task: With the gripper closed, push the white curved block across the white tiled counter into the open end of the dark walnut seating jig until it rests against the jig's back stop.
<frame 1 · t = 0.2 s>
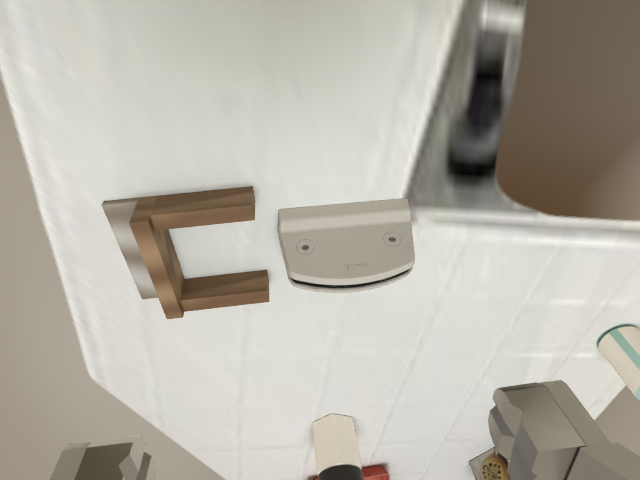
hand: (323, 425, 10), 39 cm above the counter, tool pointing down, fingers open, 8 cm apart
jig: (217, 242, 55), on the counter
jar: (332, 424, 84), on the counter
can: (615, 336, 76), on the counter
coffee box: (491, 454, 100), on the counter
white curved block: (343, 227, 56), on the counter
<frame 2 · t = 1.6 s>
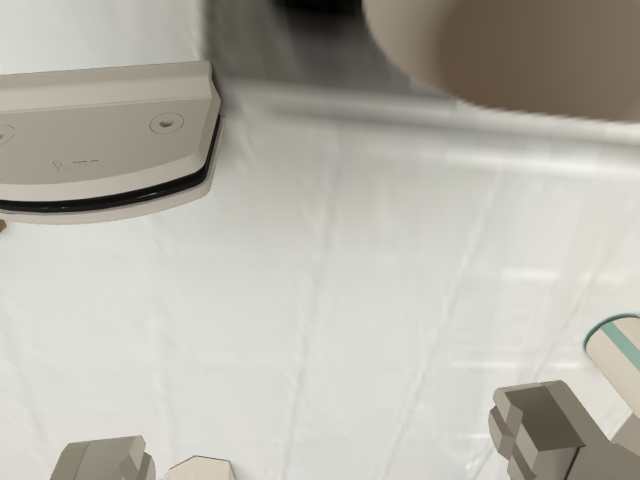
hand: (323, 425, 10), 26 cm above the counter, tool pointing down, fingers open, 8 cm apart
jar: (203, 472, 57), on the counter
can: (611, 334, 51), on the counter
white curved block: (110, 123, 32), on the counter
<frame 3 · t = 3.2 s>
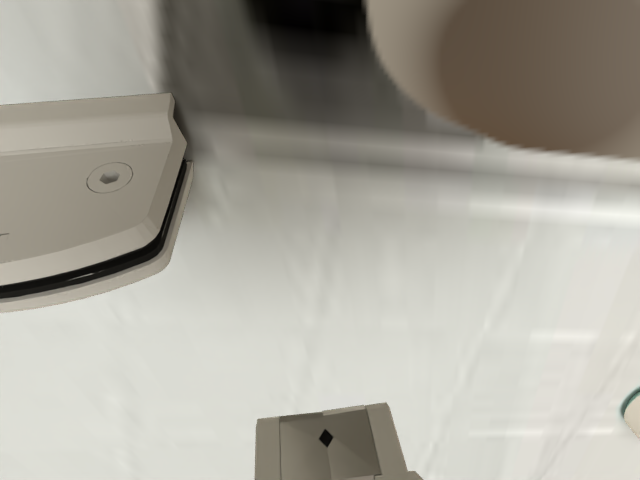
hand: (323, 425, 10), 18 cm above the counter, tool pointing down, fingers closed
white curved block: (48, 169, 25), on the counter
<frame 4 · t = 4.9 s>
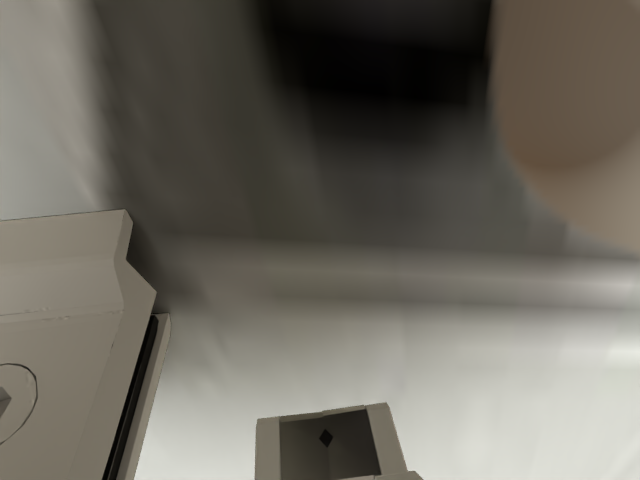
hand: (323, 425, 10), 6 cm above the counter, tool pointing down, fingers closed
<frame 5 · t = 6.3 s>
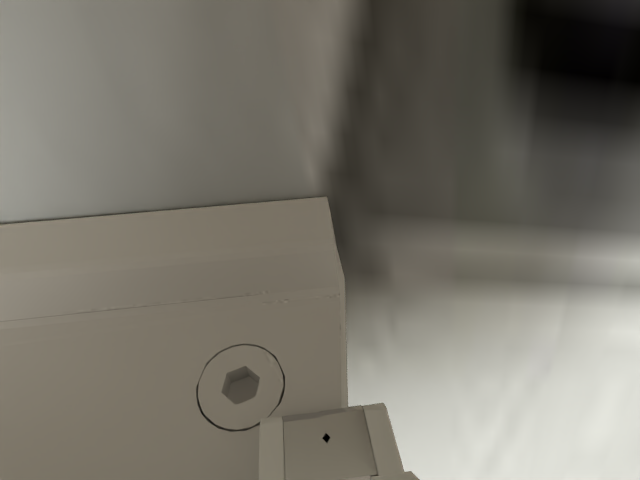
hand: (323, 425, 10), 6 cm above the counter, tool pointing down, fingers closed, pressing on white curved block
white curved block: (99, 313, 15), on the counter, touching gripper
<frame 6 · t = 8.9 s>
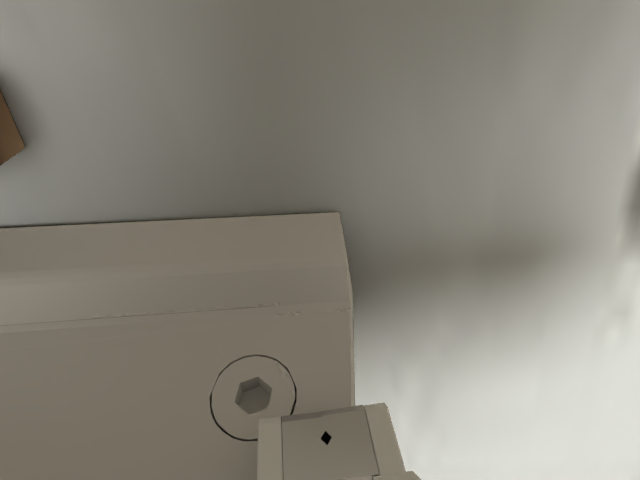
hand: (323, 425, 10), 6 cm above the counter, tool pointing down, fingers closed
white curved block: (107, 317, 15), on the counter, touching gripper
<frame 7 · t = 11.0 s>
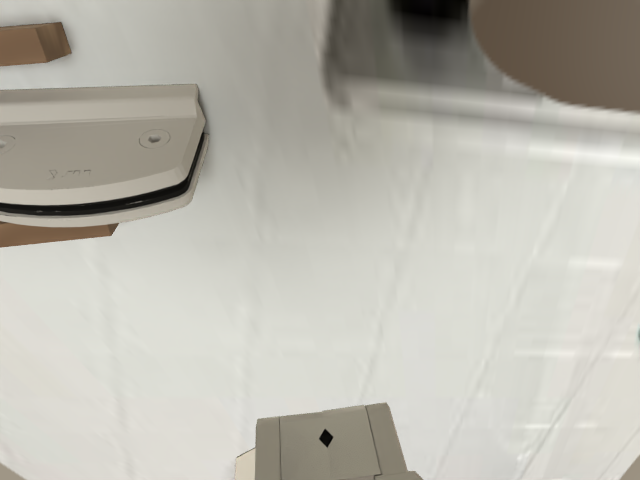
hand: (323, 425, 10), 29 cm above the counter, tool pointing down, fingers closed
jig: (24, 135, 34), on the counter
jar: (267, 461, 59), on the counter
white curved block: (104, 136, 35), on the counter
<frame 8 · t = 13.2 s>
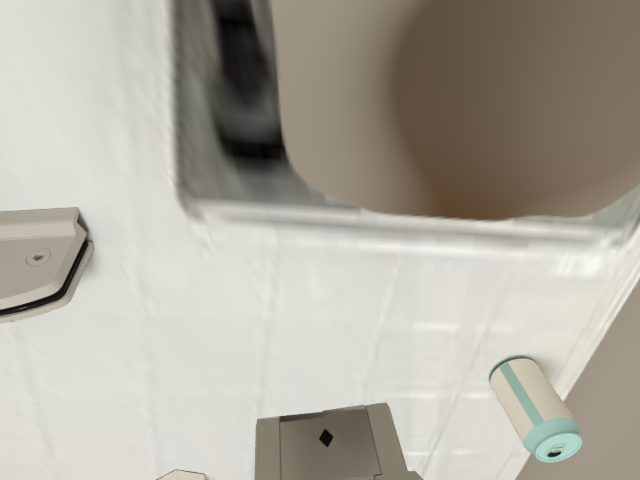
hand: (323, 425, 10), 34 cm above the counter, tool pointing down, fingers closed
can: (511, 371, 63), on the counter
white curved block: (9, 243, 44), on the counter
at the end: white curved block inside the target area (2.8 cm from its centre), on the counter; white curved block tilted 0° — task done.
